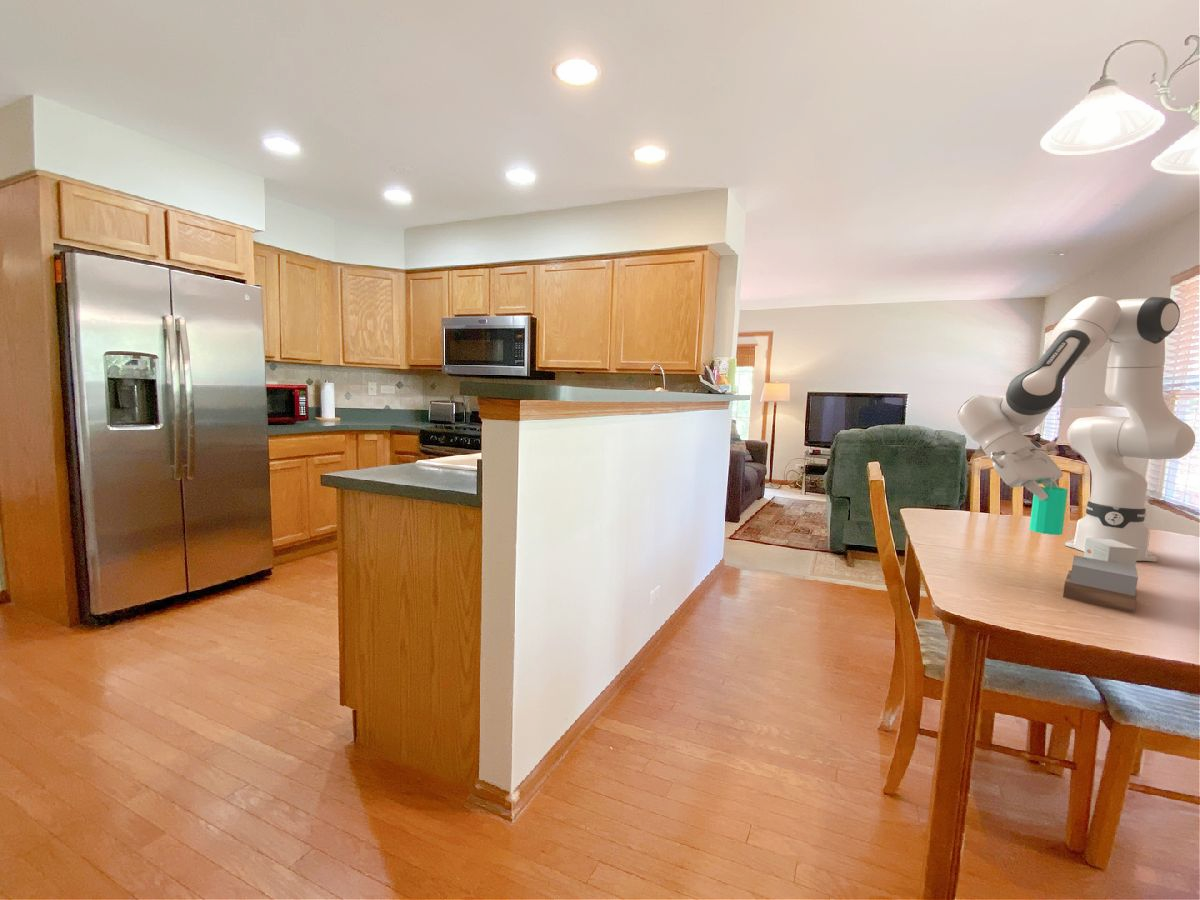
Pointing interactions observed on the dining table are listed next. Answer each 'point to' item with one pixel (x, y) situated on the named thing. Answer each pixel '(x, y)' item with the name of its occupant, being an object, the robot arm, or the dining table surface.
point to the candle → (1049, 511)
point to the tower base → (1099, 596)
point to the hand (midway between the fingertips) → (1053, 497)
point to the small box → (1110, 551)
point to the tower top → (1104, 575)
